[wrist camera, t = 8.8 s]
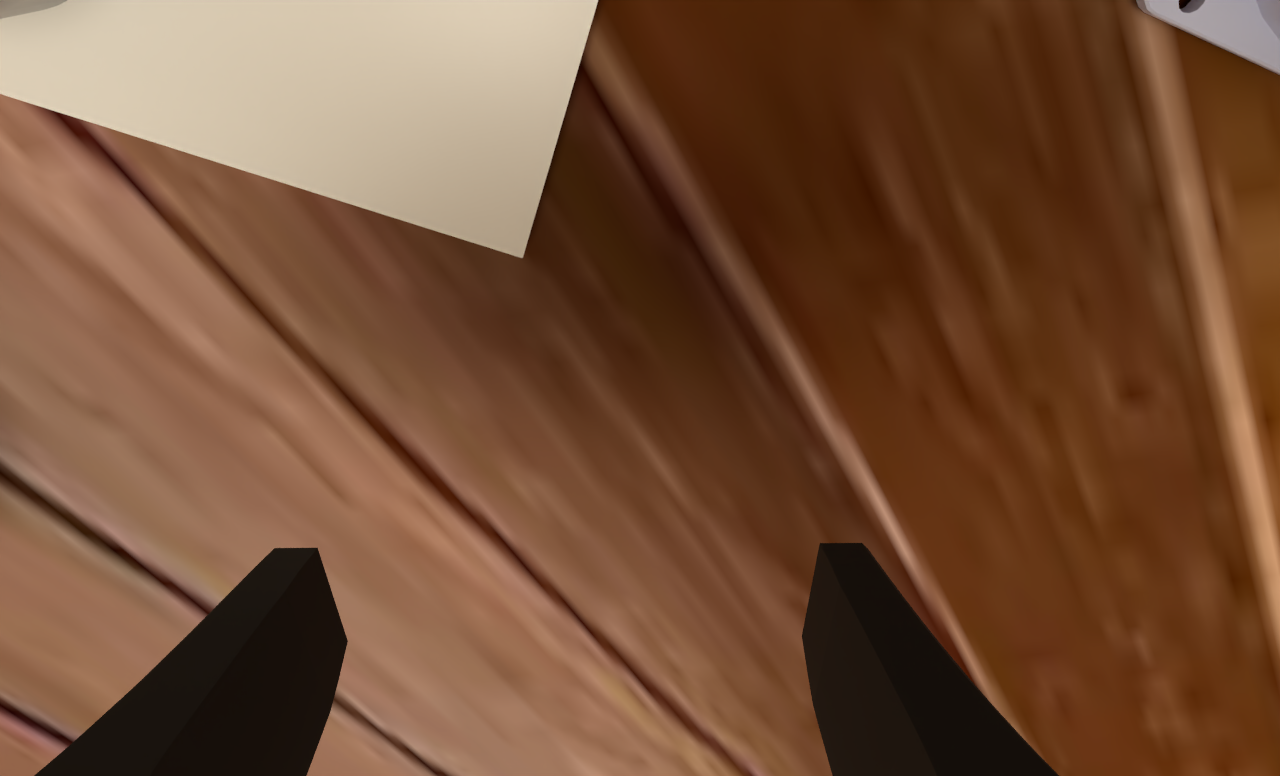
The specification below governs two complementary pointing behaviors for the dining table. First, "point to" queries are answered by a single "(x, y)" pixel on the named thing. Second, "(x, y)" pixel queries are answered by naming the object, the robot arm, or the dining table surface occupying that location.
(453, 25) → the stub board
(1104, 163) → the dining table surface
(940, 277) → the dining table surface
